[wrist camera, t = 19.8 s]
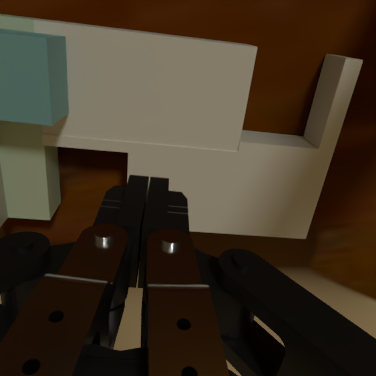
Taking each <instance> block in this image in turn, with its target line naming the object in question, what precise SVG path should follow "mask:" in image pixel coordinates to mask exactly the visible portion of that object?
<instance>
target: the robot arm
mask: <svg viewBox="0 0 376 376" xmlns="http://www.w3.org/2000/svg"><path fill="white" fill-rule="evenodd" d="M148 185H149V189H148ZM139 263H140V266H139ZM138 270H139V280H138V288H143V297H142V309H141V348H135V349H129V350H124V351H118V350H113V348H114V344H115V340H116V336H117V333H118V329H119V326H120V322H121V319H122V315H123V311H124V307H125V299H126V297H127V294H128V288H129V287H134V288H135V287H136V283H137V276H138ZM0 295H1V301H2V304H0V376H237V375H236V374H235V373H233V372H232V371H230V370H229V369H228V367H227V363H226V360H227V361H228V362H229V363H230V364H231V365H232V366H233V367H234V368H235V369H236V370H237V371H238V372H239V373H240V374H241V375H242V376H376V339H375V338H374V337H372V336H371V335H369V334H368V333H367V332H365V331H364V330H362V329H361V328H360V327H358V326H357V325H355V324H354V323H352V322H351V321H350V320H348V319H347V318H345V317H344V316H343V315H341V314H340V313H338V312H337V311H336V310H334V309H332V308H331V307H330V306H329V305H327V304H326V303H324V302H323V301H321V300H320V299H318V298H317V297H316V296H314V295H313V294H312V293H310V292H309V291H307V290H306V289H305V288H303V287H302V286H300V285H299V284H297V283H296V282H295V281H293V280H292V279H290V278H289V277H288V276H286V275H285V274H283V273H282V272H281V271H279V270H278V269H276V268H275V267H274V266H272V265H270V264H269V263H268V262H266V261H265V260H264V259H262V258H261V257H259V256H258V255H256V254H255V253H253V252H250V251H247V250H243V249H230V250H227V251H225V252H223V253H222V254H221V255H220V257H219V258H217V257H214V256H210V255H207V254H205V253H202V252H201V251H199V250H197V248H195V247H194V243H193V240H192V239H191V238H190V233H189V216H188V200H187V198H186V197H185V195H184V194H183V193H182V192H177V191H169V178H161V177H150V182H149V176H140V175H130V176H129V179H128V183H127V186H126V187H123V186H114V187H112V188H111V189H109V190H108V191H107V192H106V194H105V197H104V199H103V202H102V204H101V207H100V209H99V212H98V214H97V217H96V219H95V222H94V224H93V226H90V227H88V228H86V229H85V230H83V231H82V233H81V234H80V236H79V237H78V239H77V241H76V242H73V243H68V244H62V245H53V246H50V242H49V239H48V238H47V237H46V236H45V235H43V234H41V233H37V232H27V231H26V232H18V233H14V234H10V235H8V236H5V237H3V238H0ZM254 316H256V317H258V318H259V319H260V320H261V321H262V322H263V323H265V324H266V325H267V326H268V327H269V328H270V329H271V330H273V331H274V332H275V333H276V334H277V335H278V336H279V337H280V338H281V340H282V341H283V343H284V346H285V347H284V346H283V345H282V344H281V343H279V342H278V341H277V340H276V339H275V338H274V337H273V336H272V335H270V334H269V333H268V332H267V331H266V330H265V329H264V328H262V327H261V326H260V325H259V324H258V323H257V322H256V321H255V320H253V319H254Z"/></svg>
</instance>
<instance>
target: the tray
mask: <svg viewBox="0 0 376 376" xmlns="http://www.w3.org/2000/svg"><path fill="white" fill-rule="evenodd" d="M0 28H2V29H10V30H18V31H26V32H35V33H43V34H51V35H59V36H66V59H67V82H68V105H69V113H68V114H67V115H66V116H64V117H63V118H62V119H60V120H59V121H58V122H56V123H55V124H54V125H53V126H50V125H40V124H31V123H21V122H12V121H3V120H0V227H1V226H2V224H3V223H4V222H5V221H6V219H7V218H8V217H9V218H24V219H39V220H50V219H51V218H52V216H53V214H54V213H55V211H56V209H57V208H58V206H59V204H60V203H61V199H60V183H59V166H58V150H57V147H68V148H80V149H91V150H102V151H114V152H125V153H128V173H127V183H128V179H129V176H130V175H140V176H149V182H150V177H161V178H169V191H177V192H182V193H183V194H184V195H185V197H186V198H187V200H188V216H189V231H193V232H208V233H223V234H238V235H253V236H268V237H284V238H298V239H306V236H307V233H308V230H309V227H310V224H311V221H312V218H313V215H314V211H315V208H316V205H317V202H318V199H319V196H320V193H321V190H322V187H323V184H324V180H325V177H326V174H327V171H328V168H329V165H330V162H331V159H332V156H333V153H334V149H335V146H336V143H337V140H338V137H339V134H340V131H341V128H342V125H343V122H344V118H345V115H346V112H347V109H348V106H349V103H350V100H351V97H352V94H353V91H354V87H355V84H356V81H357V78H358V75H359V72H360V69H361V66H362V63H363V60H360V59H355V58H350V57H345V56H339V55H331V54H326V55H325V59H324V63H323V66H322V70H321V74H320V77H319V81H318V84H317V88H316V92H315V95H314V99H313V103H312V106H311V110H310V114H309V117H308V121H307V125H306V128H305V132H304V136H296V135H286V134H276V133H266V132H255V131H245V130H242V126H243V121H244V116H245V111H246V105H247V100H248V95H249V89H250V84H251V79H252V73H253V68H254V63H255V58H256V52H257V47H255V46H252V45H248V44H241V43H233V42H225V41H217V40H209V39H201V38H193V37H184V36H176V35H168V34H160V33H152V32H144V31H135V30H127V29H119V28H111V27H103V26H95V25H87V24H78V23H70V22H62V21H54V20H46V19H38V18H29V17H21V16H13V15H5V14H0ZM148 189H149V185H148Z"/></svg>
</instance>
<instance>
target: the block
mask: <svg viewBox="0 0 376 376" xmlns="http://www.w3.org/2000/svg"><path fill="white" fill-rule="evenodd" d="M68 113H69V105H68V82H67V59H66V36H59V35H51V34H43V33H35V32H26V31H18V30H10V29H2V28H0V120H3V121H12V122H21V123H31V124H40V125H50V126H53V125H54V124H55V123H56V122H58V121H59V120H60V119H62V118H63V117H64V116H66V115H67V114H68Z"/></svg>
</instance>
